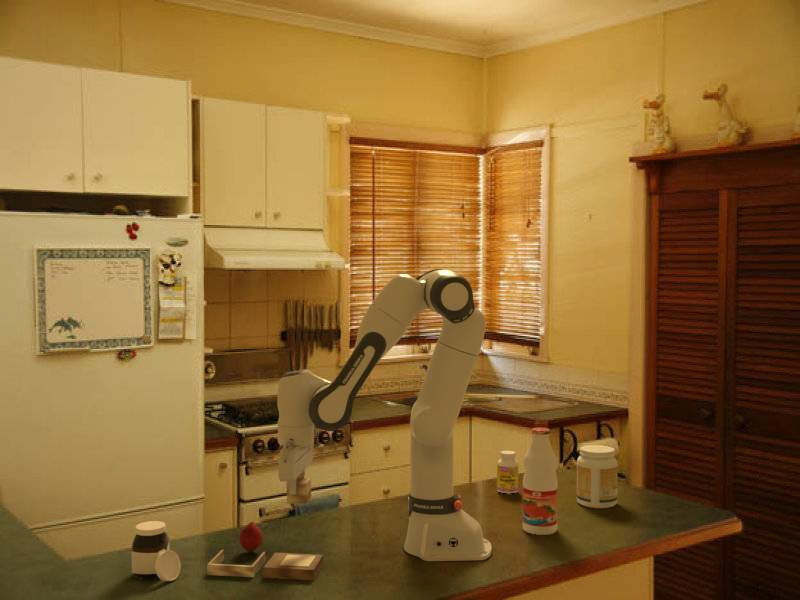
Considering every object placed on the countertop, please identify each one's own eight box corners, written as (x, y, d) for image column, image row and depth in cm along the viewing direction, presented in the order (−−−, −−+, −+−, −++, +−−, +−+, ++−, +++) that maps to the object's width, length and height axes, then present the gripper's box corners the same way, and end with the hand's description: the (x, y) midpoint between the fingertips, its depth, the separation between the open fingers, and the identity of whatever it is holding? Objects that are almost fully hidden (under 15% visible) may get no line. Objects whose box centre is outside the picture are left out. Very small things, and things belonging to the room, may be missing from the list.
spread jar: (142, 566, 205) (141, 518, 204) (188, 566, 205) (188, 519, 204) (124, 585, 193) (123, 535, 192) (173, 586, 193) (173, 535, 192)
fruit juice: (561, 527, 235) (562, 427, 233) (551, 537, 226) (552, 433, 225) (528, 522, 239) (529, 424, 237) (517, 532, 230) (518, 430, 229)
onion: (257, 557, 211) (257, 525, 210) (235, 555, 212) (235, 524, 212) (265, 549, 217) (265, 518, 216) (244, 547, 218) (244, 517, 217)
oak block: (311, 497, 213) (310, 478, 213) (306, 503, 208) (306, 483, 208) (291, 497, 213) (291, 477, 213) (287, 503, 208) (286, 483, 208)
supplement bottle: (496, 494, 268) (496, 454, 267) (497, 488, 274) (497, 449, 273) (517, 495, 266) (518, 455, 266) (518, 489, 273) (518, 450, 272)
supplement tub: (616, 499, 262) (617, 445, 261) (617, 510, 250) (618, 454, 250) (576, 496, 265) (577, 443, 264) (575, 507, 253) (576, 452, 252)
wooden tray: (323, 565, 206) (323, 554, 206) (313, 580, 196) (313, 569, 196) (221, 559, 209) (221, 549, 209) (207, 574, 199) (207, 563, 199)
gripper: (297, 444, 199) (298, 502, 200) (317, 427, 219) (318, 480, 220) (271, 444, 200) (272, 501, 201) (294, 426, 220) (294, 479, 221)
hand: (296, 490), depth 211 cm, fingers closed on oak block, 5 cm apart
